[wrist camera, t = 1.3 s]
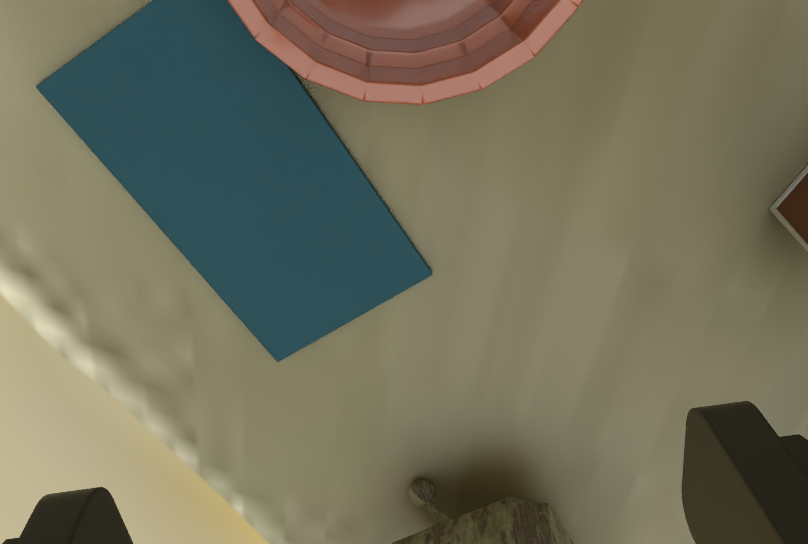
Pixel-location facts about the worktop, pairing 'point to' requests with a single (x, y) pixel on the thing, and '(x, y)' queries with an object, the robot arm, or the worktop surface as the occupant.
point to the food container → (795, 208)
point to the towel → (237, 170)
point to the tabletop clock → (488, 522)
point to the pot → (404, 42)
